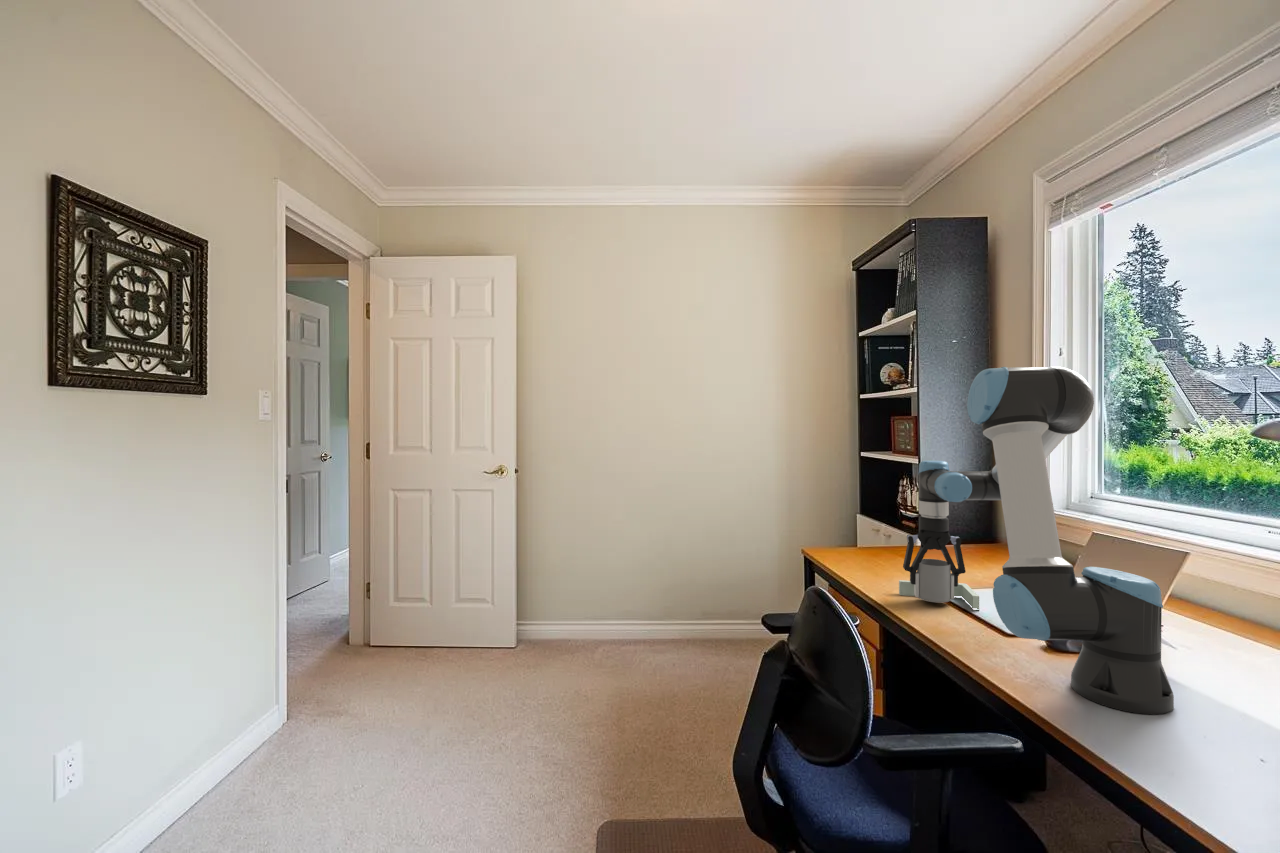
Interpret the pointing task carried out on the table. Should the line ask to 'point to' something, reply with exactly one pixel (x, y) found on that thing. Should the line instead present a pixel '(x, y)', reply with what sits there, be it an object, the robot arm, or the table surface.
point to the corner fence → (960, 590)
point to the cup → (934, 580)
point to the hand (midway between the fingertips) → (933, 596)
